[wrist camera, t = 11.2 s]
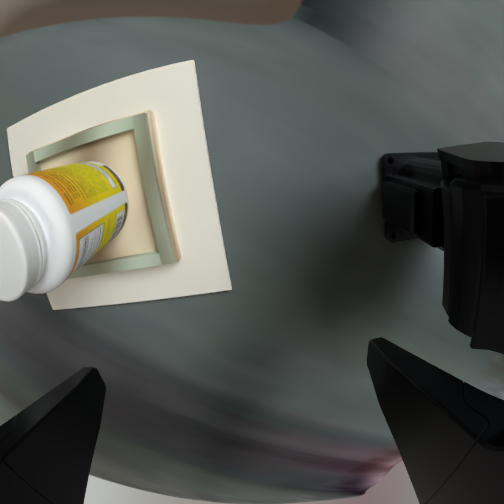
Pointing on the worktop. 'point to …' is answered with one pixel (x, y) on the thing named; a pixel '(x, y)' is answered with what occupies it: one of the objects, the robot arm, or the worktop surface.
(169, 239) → the square wooden tray
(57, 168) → the supplement bottle
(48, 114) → the cream square board
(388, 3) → the worktop surface
